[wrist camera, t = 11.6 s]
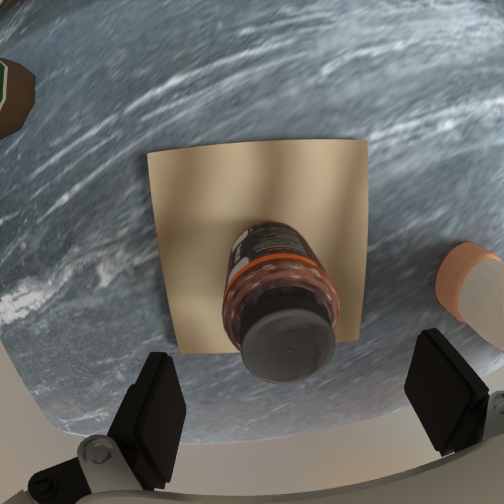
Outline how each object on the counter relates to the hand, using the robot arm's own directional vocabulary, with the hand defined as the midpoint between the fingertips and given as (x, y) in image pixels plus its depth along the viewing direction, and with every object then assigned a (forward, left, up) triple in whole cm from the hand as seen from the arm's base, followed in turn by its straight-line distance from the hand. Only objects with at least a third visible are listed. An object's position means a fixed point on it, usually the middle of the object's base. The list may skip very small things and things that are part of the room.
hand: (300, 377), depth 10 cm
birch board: (+1, 0, -14) cm, 14 cm away
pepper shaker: (-19, +4, -14) cm, 25 cm away
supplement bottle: (0, 0, -13) cm, 13 cm away
